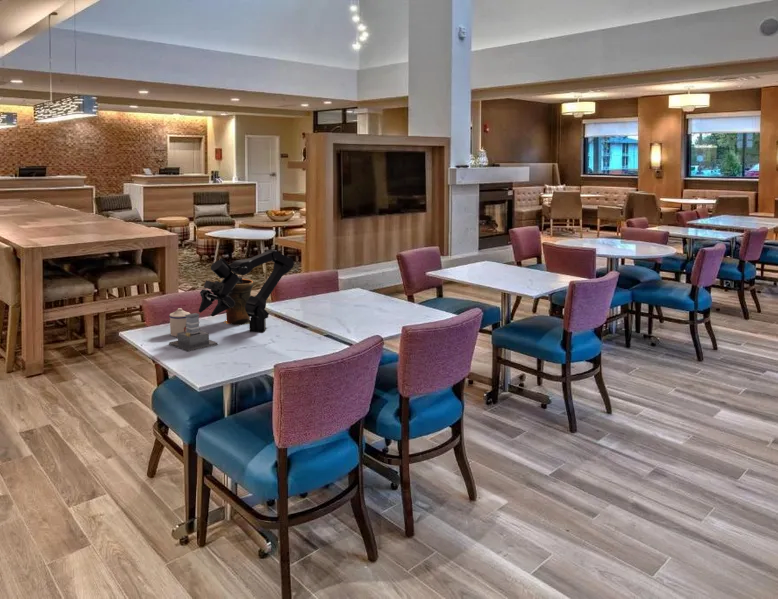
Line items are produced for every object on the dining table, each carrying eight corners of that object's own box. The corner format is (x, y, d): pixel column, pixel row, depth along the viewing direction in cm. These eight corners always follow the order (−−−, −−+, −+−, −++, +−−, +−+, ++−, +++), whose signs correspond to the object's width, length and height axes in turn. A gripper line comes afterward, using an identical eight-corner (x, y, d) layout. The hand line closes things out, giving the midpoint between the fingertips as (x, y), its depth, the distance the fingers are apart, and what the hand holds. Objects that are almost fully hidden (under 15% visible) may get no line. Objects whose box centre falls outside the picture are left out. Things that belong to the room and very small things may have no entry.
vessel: (245, 316, 312) (245, 276, 307) (259, 323, 301) (258, 282, 296) (218, 320, 303) (217, 279, 298) (230, 327, 292) (230, 285, 287)
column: (195, 340, 264) (194, 312, 262) (201, 342, 262) (200, 314, 259) (185, 342, 261) (184, 314, 258) (190, 344, 258) (189, 316, 256)
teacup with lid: (188, 337, 273) (186, 311, 270) (167, 336, 272) (165, 310, 270) (196, 330, 284) (195, 305, 282) (176, 329, 284) (174, 304, 282)
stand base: (198, 338, 271) (198, 324, 270) (217, 344, 262) (217, 331, 261) (169, 344, 261) (168, 330, 259) (187, 351, 252) (187, 337, 251)
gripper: (202, 270, 270) (180, 299, 264) (228, 276, 258) (205, 306, 252) (218, 286, 278) (197, 314, 272) (244, 292, 266) (223, 322, 260)
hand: (205, 314), depth 264 cm, fingers open, 9 cm apart
